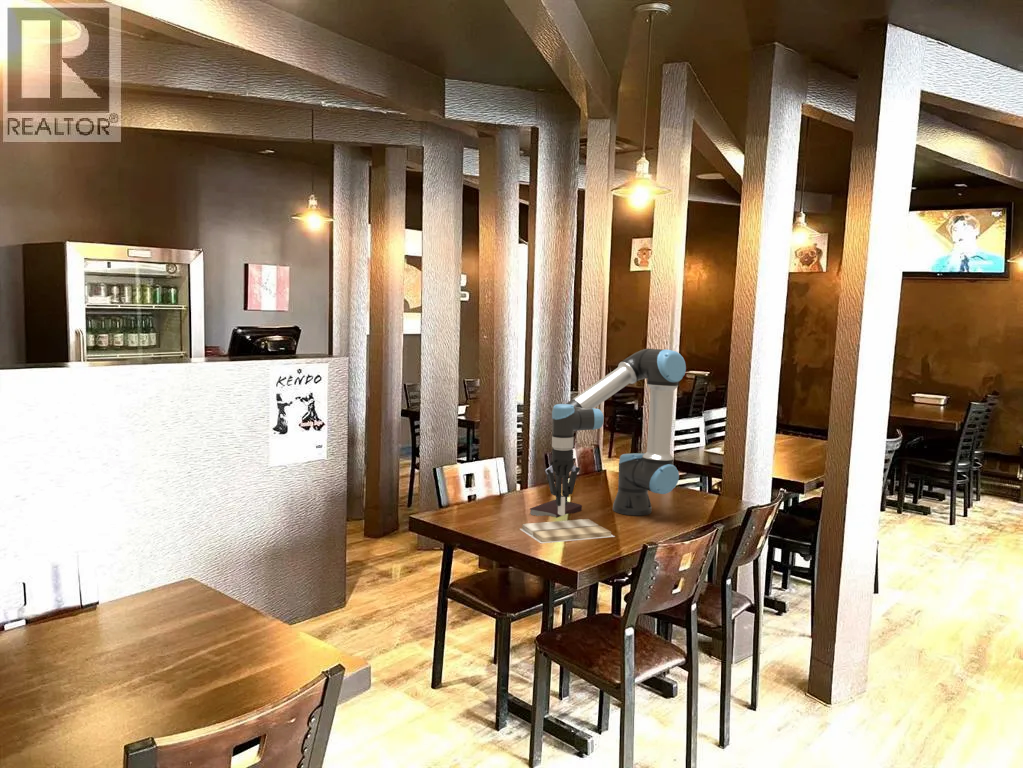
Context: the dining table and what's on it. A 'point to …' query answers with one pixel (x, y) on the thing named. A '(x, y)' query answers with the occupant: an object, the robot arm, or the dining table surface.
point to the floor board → (562, 540)
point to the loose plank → (558, 525)
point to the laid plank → (571, 534)
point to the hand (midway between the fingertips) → (561, 514)
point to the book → (554, 509)
